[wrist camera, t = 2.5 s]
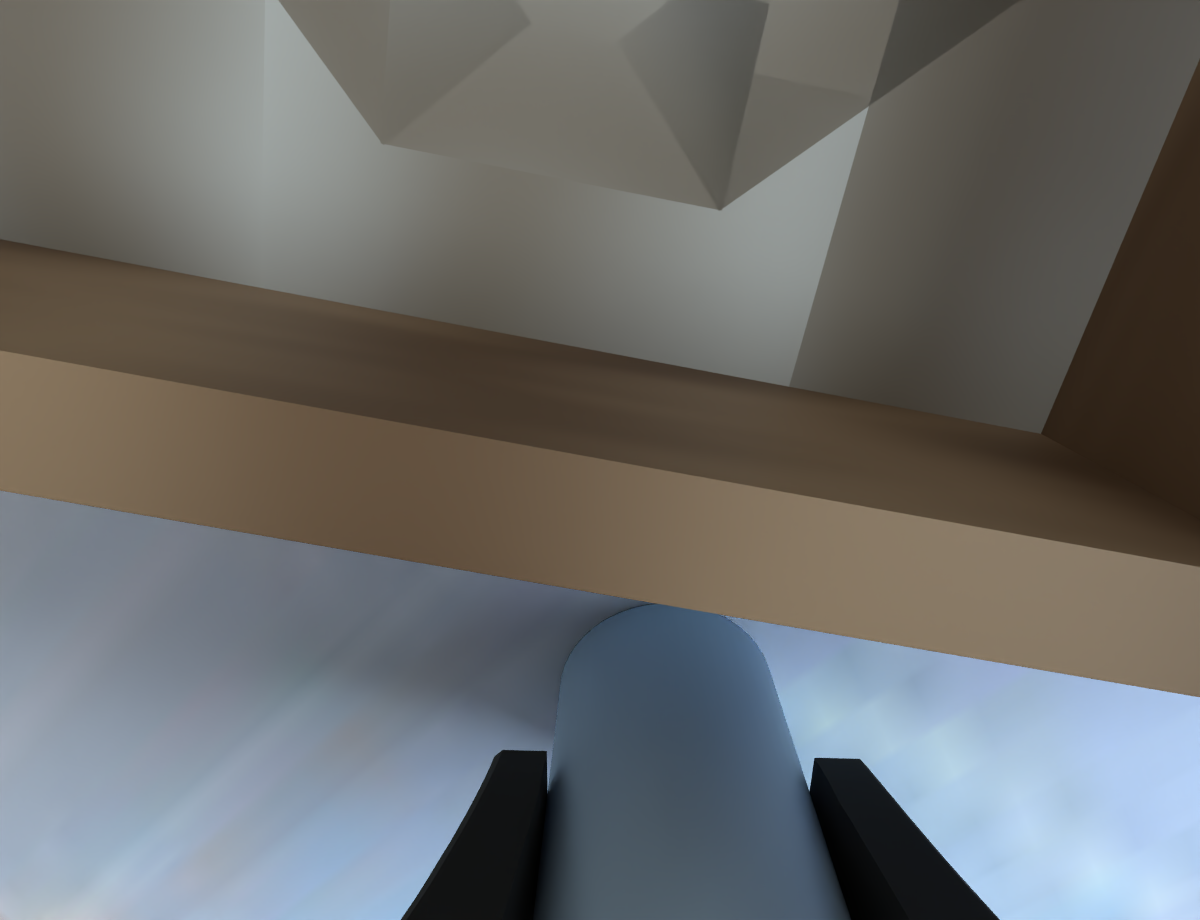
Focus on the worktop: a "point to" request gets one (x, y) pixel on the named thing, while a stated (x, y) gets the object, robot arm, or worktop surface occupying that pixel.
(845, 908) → the peg
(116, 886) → the worktop surface
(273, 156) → the box
